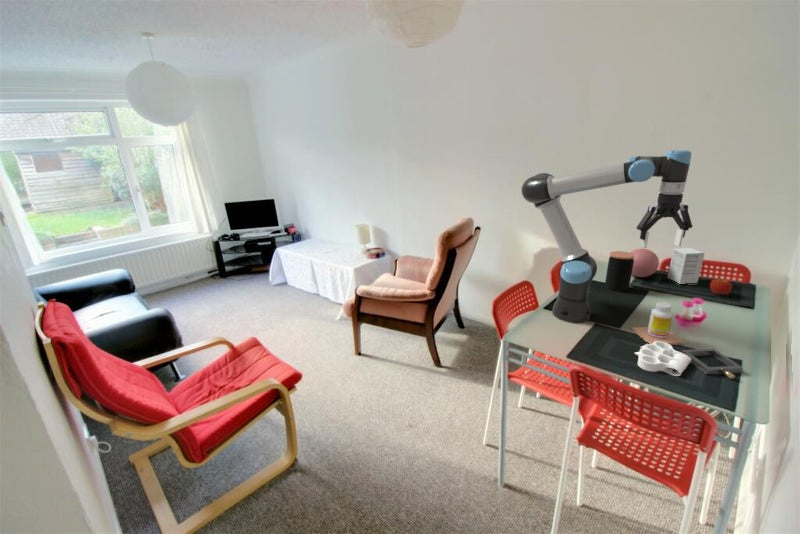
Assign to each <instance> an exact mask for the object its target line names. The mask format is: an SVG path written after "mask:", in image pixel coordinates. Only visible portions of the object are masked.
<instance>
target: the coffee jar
mask: <svg viewBox="0 0 800 534" xmlns="http://www.w3.org/2000/svg"><path fill="white" fill-rule="evenodd" d="M634 257H635V255H634V254H632V253H630V252H628V251H621V250H619V251H617V250H615V251H611V252H609V257H608V262H607V263H608V264H607V268H606V276H605V283H604V284H605V287H606V288H607V289H608V290H609V291H614V292H625V291H627V290H628V289H629V288H630V285H631V280H632V279H631V278H632V276H633V275H632V269H633V264H634V260H633V258H634Z"/></svg>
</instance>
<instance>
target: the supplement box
mask: <svg viewBox="0 0 800 534" xmlns="http://www.w3.org/2000/svg"><path fill="white" fill-rule="evenodd" d="M704 257H705V252H703V251H700V250H697V249H695V248H692V247H682V248H673V249H672V254H671V259H670V265H669V268H668V274H667V278H669V279H671V280H673V281H675V282H677V283H679V284H685V283H697V282H698V281H699V278H700V274H701V269H702V265H703V260H704ZM669 279H668V280H669ZM671 280H670V281H671ZM673 281H672V282H673ZM675 282H674V283H675ZM677 283H676V284H677ZM698 283H699V282H698ZM698 283H697V284H698ZM679 284H678V285H679Z"/></svg>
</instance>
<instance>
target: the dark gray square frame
mask: <svg viewBox="0 0 800 534" xmlns="http://www.w3.org/2000/svg"><path fill="white" fill-rule="evenodd" d="M680 352H681V353H683V354H685V355H687V356H689V357H690V358H691V362H690V364H692V365H693V366H694V365H695V366H694V367H696V368H697V369H698V370H699V371H701V372H702V371H703V372H704V373H703V372H702V373H703V374H704V375H706V374H710V375H725V376H726V377H728V378H729V379H730V380H734V379H735V378H736V375H735V374H742V372H743V369H744V367H742V366H741V365H739V364H738V363H737V362H736V361H733V360H732V359H730V358H729V357H727V356H726V355H725V354H723V353H721V352H720V351H719V350H717V349H716V348H699V349H698V348H697V349H695V348H694V349H693V348H692V349H682V350H681V351H680ZM707 355H708V356H712V357H714V358H715V359H716V360H718V361H719V360H720V362H721V363H722V362H723V363H722V364H723V365H725V364H726V365H725V366H723V365H722V366H708V365H706V364H705V363H703V362H702V361H701V360H699V358H697V357H708V356H707ZM732 373H733V374H732Z"/></svg>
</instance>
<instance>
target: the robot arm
mask: <svg viewBox="0 0 800 534" xmlns="http://www.w3.org/2000/svg"><path fill="white" fill-rule="evenodd" d="M691 161H692V151H690V150H687V149H685V150H684V149H675V150H669V151H667V152H666V154H665V155H662V156H652V155H651V156H644V155H642V156H640V155H638V156H629V158H628V160H627V162H622V163H619V164H613V165H608V166H603V167H599V168H594V169H589V170H584V171H579V172H575V173H570V174H569V173H568V174H565V175H560V176H554V175H553V174H552V173H551V174H550V173H547V172H540V173H538V174H536V175H533V176H531V177H528V178H527V179H526V180H524V182H523V184H522V186H521V195H522V197H523V199H524V200H525V201H527V202H529V203H532V204H533V205H534V207H535V208H536V209H538V210H540V211H541V213H542V215H543V217H544V219H545V221H546V223H547V226H548V227H549V229H550V232H551V234H552V236H553V238H554V241H555V242H556V245H557V246H558V249H559V251H560V252H561V255H562V258H561V263H562V266H561V269H560V272H559V273H560V277H559V286H558V297H557V298H556V301H555V302H554V304H553V306H552V312H551V313H552V315H553V316H554V317H555V318H556V319H558V320H561V321H564V322H569V323H585V322H587V321H589V320H590V319H591V318H590V317H591V309H590V305H589V302H588V301H589V299H588V298H589V292H590V286H591V283H592V281H593V280H594V278H595V276H596V274H597V271H598V265H597V261H596V260H595V259H594V258H593V257H592V256H590V254H589V251H588V250H587V249H585V248H582V245H581V243H580V242H579V238H578V236H577V235H576V232H575V231H574V229H573V227H572V224H571V222H570V220H569V219H568V216H567V214H566V211H565V209H564V207H563V206H562V204H561V202H560V201H561V197H562V196H563V195H568V194H569V195H570V194H574V193H579V192H586V191H591V190H596V189H603V188H607V187H613V186H617V185H618V186H619V185H624V184H630V183H635V182H636V183H643V182H646V181H648V180H651V178H652V177H660V178H661V181H660V186H659V190H658V191H659V192H660V193H659V194H658V197H657V200H656V201H657V206H654V205H649V206H648V208H647V210H646V213H645V214H644V215H643V217H642V218H641V220H640V222H639V223H638V224H637V226H636V230H638V231H640V235H639V239H641V240H640V245H639V246H640V247H641V248H642V249H647V246H648V241H649V236H650V232H649V230H650V229H651V228H652V227H653V226H654V225H655V224H656V223H657V222H658V221H659V220H661V219H663V218H672V219H673V220H674V222H675V223H676V225H677V226H678V227H679V228H677V229H676V232H675V238H674V242H673V245H674V246H676V247H681V245H682V243H683V238H685V236H686V231H689V229H692V228H693V224H692V219H691V216H690V214H689V205H687V204H684V203H683V204H682V201H683V197H684V194H683V193H684V191H685V187H686V183H687V178H688V174H689V170H690V166H691ZM679 211H680V213H679Z"/></svg>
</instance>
